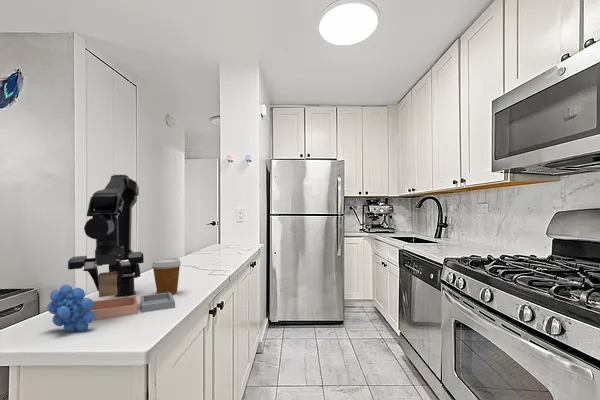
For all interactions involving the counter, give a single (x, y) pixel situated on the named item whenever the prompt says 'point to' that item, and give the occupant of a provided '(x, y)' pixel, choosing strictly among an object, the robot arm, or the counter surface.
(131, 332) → the counter surface
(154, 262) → the disposable coffee cup
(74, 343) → the counter surface
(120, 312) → the dish
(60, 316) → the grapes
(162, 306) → the tray
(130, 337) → the counter surface
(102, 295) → the block
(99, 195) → the robot arm
